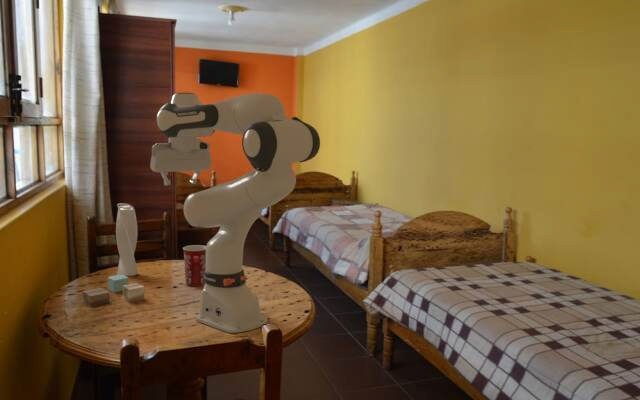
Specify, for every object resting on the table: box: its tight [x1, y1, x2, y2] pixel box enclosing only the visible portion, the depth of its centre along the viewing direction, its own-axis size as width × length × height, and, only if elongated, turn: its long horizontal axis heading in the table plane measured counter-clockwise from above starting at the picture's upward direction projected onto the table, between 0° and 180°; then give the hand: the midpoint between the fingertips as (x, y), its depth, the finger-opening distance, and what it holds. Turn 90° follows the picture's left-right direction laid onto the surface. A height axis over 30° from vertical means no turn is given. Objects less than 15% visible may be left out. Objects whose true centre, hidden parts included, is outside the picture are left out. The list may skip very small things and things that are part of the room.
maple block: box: [122, 282, 145, 303], centre depth 163 cm, size 5×5×5 cm
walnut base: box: [82, 287, 111, 306], centre depth 160 cm, size 6×6×3 cm
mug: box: [182, 244, 207, 287], centre depth 180 cm, size 13×9×14 cm
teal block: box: [107, 274, 129, 294], centre depth 171 cm, size 5×5×5 cm
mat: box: [80, 299, 112, 307], centre depth 160 cm, size 12×10×1 cm
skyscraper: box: [115, 202, 139, 277], centre depth 188 cm, size 8×8×28 cm
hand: (180, 184), depth 166 cm, fingers open, 8 cm apart
